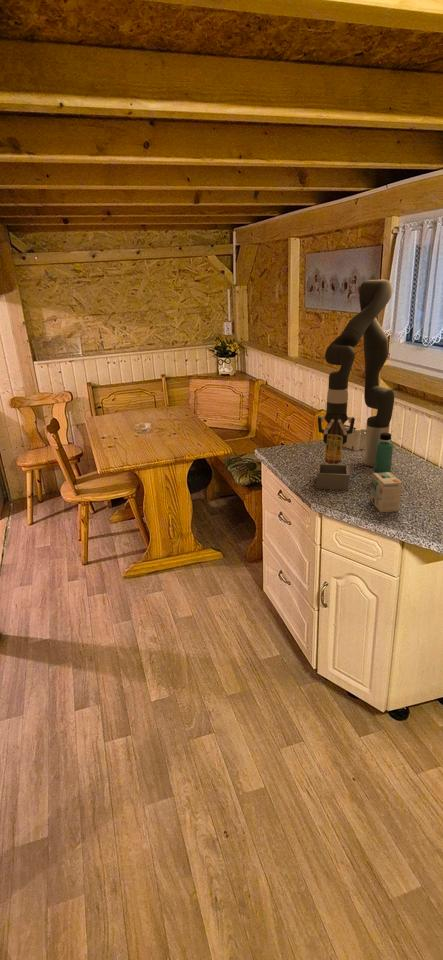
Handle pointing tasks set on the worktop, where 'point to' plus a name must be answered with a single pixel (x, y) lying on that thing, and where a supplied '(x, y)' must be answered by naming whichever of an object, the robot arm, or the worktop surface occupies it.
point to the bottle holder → (333, 476)
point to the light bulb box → (386, 491)
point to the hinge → (355, 438)
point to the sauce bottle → (334, 442)
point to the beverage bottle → (383, 454)
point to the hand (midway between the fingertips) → (334, 443)
